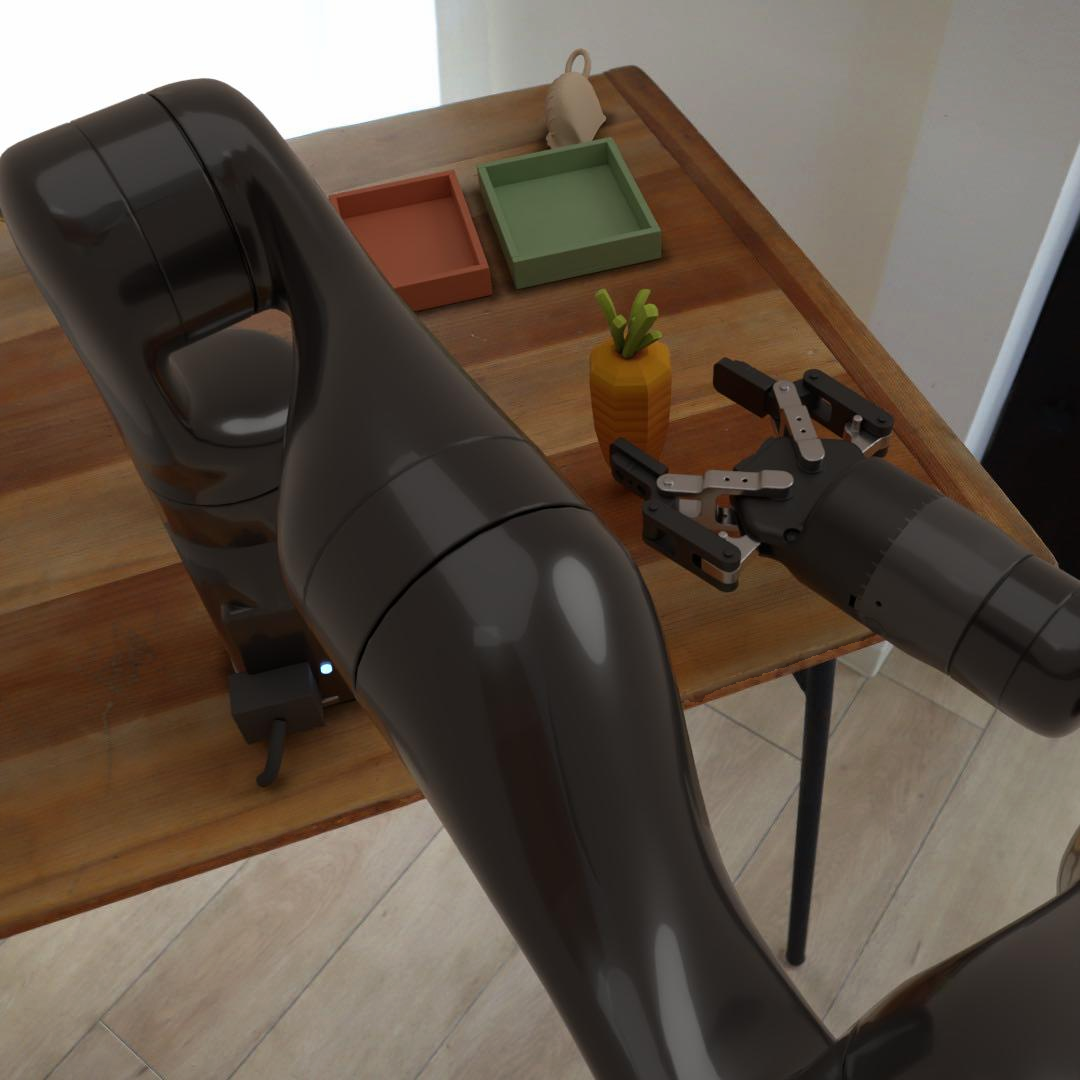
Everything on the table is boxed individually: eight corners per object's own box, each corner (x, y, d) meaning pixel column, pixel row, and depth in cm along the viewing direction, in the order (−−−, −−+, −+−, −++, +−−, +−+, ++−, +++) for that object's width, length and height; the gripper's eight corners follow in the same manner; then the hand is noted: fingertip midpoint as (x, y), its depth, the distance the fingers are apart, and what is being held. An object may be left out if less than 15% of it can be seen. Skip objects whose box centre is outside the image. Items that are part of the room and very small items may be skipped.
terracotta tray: (492, 294, 87) (489, 267, 85) (357, 324, 86) (350, 297, 84) (458, 195, 95) (454, 169, 94) (334, 221, 94) (327, 195, 93)
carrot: (581, 472, 75) (567, 284, 64) (652, 448, 76) (652, 258, 64) (611, 526, 72) (603, 339, 61) (685, 501, 73) (691, 312, 61)
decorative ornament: (535, 156, 98) (529, 96, 94) (570, 103, 103) (566, 44, 99) (580, 163, 97) (577, 103, 93) (614, 109, 102) (612, 50, 98)
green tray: (661, 258, 88) (661, 230, 86) (516, 289, 87) (513, 262, 85) (612, 163, 97) (611, 136, 95) (479, 191, 96) (476, 164, 94)
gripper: (1009, 434, 58) (752, 295, 66) (829, 605, 52) (572, 431, 60) (977, 531, 64) (744, 393, 72) (812, 695, 58) (579, 525, 66)
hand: (666, 410), depth 66 cm, fingers open, 8 cm apart
